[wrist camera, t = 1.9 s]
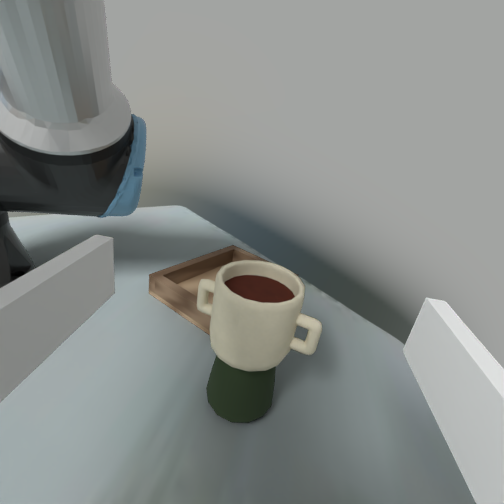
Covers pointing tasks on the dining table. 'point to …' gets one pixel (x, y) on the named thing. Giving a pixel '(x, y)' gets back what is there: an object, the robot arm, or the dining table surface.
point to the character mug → (252, 334)
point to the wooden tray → (193, 282)
